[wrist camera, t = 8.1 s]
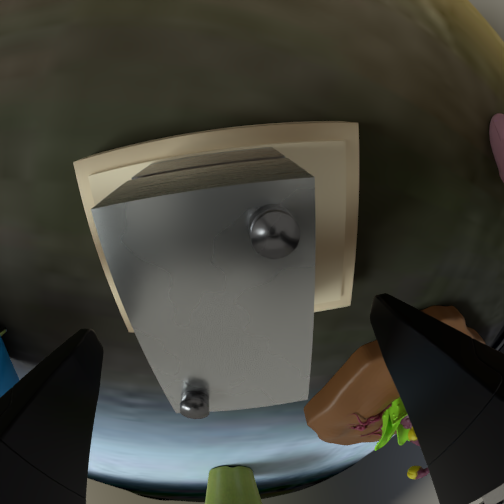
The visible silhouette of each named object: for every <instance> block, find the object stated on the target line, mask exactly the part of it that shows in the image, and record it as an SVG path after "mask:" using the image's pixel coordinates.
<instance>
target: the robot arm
mask: <svg viewBox="0 0 504 504" xmlns="http://www.w3.org/2000/svg"><path fill="white" fill-rule="evenodd" d="M370 321H371V325H372V327H373V330H374V333H375V336H376V339H377V342H378V345H379V348H380V350H381V353H382V356H383V359H384V362H385V364H386V366H387V369H388V371H389V373H390V375H391V377H392V380H393V382H394V384H395V386H396V389H397V391H398V393H399V395H400V398H401V400H402V402H403V405H404V407H405V409H406V412H407V414H408V417H409V419H410V422H411V424H412V426H413V429H414V431H415V434H416V437H417V439H418V442H419V444H420V447H421V450H422V452H423V455H424V458H425V460H426V463H427V465H428V469H429V472H430V475H431V478H432V481H433V484H434V487H435V490H436V493H437V496H438V499H439V503H440V504H469V503H471V502H473V501H475V500H477V499H479V498H480V497H482V499H483V502H481V503H480V504H504V353H502V352H499V351H497V350H495V349H493V348H491V347H489V346H487V345H485V344H483V343H481V342H479V341H478V340H476V339H474V338H473V339H472V337H470V336H468V335H466V334H464V333H463V332H461V331H459V330H457V329H455V328H453V327H451V326H449V325H447V324H445V323H444V322H442V321H440V320H438V319H436V318H434V317H432V316H430V315H428V314H426V313H424V312H422V311H420V310H418V309H416V308H414V307H413V306H411V305H409V304H407V303H405V302H403V301H401V300H399V299H397V298H395V297H393V296H391V295H389V294H386V293H384V294H379V295H376V296H375V297H374V298H373V303H372V308H371V314H370ZM102 360H103V347H102V345H101V343H100V341H99V339H98V338H97V336H96V334H95V332H94V331H93V330H92V329H80V330H79V331H78V332H77V333H75V334H74V335H73V336H72V337H70V338H69V339H68V340H67V341H66V342H64V343H63V344H62V345H61V346H60V347H58V348H57V349H56V350H55V351H53V352H52V353H51V354H50V355H49V356H48V357H46V358H45V359H44V360H43V361H42V362H40V363H39V364H38V365H37V366H36V367H35V368H33V369H32V370H31V371H30V372H29V373H28V374H26V375H25V376H24V377H23V378H22V379H21V380H20V381H18V382H17V383H16V384H15V385H14V386H13V388H10V389H9V390H8V391H7V392H6V393H5V394H4V395H3V396H1V397H0V504H86V487H87V474H88V463H89V454H90V445H91V438H92V431H93V424H94V418H95V412H96V406H97V401H98V395H99V388H100V378H101V369H102Z"/></svg>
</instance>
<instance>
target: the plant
mask: <svg viewBox="0 0 504 504" xmlns="http://www.w3.org/2000/svg"><path fill="white" fill-rule="evenodd" d="M420 311H422V312H424V313H426V314H428V315H430V316H432V317H434V318H436V319H438V320H440V321H442V322H444V323H445V324H447V325H449V326H451V327H453V328H455V329H457V330H459V331H461V332H463V333H464V334H466V335H468V336H470V337H472V339H473V338H474V339H476V340H478V341H479V342H481V343H483V344H485V342H484V340H483V339H482V338H481V336H480V335H479V334H478V333H477V332H476V331H475V330H474V329H472V328H469V327H467V326H466V323H465V319H464V317H463V316H462V315H461V313H460V312H459V311H458V310H457V309H456V308H455V307H454V306H447V307H445V306H431V307H429V308H426V309H424V310H420ZM485 345H486V344H485ZM304 413H305V417H306V421H307V425H308V426H309V427H311V428H312V429H313V430H314V431H315V432H316V433H317V435H318V437H319V438H320V439H321V440H323V441H325V442H328V443H335V444H340V445H352V444H356V443H361V442H375V441H379V442H378V443H377V445H376V446H375V451H376V450H378V449H379V448H381V447H383V446H384V445H385V444H386V443H387V442H388V441H389V440H390V438H391V437H392V436H393V435H394V434H397V436H398V443H399V445H403V444H404V443H405V442H406V440H408V441H410V442H412V443H414V444H416V445H417V446H420V444H419V442H418V439H417V437H416V434H415V431H414V429H413V426H412V424H411V422H410V419H409V417H408V414H407V412H406V409H405V407H404V405H403V402H402V400H401V398H400V395H399V393H398V391H397V389H396V386H395V384H394V382H393V380H392V377H391V375H390V373H389V371H388V369H387V366H386V364H385V362H384V359H383V356H382V353H381V350H380V348H379V345H378V342H377V340H375V341H373V342H370V343H368V344H365V345H363V346H361V347H360V348H359V349H358V350H356V351H355V352H354V353H353V354H352V355H351V357H350V358H349V359H348V360H347V362H346V363H345V364H344V365H343V366H342V367H341V368H340V369H339V370H338V372H337V373H336V374H335V375H334V376H333V377H332V378H331V379H330V381H329V382H328V383H327V384H326V385H325V386H324V387H323V388H322V389H321V390H320V391H319V392H318V393H317V394H316V395H315V396H314V397H313V398H312V399H311V400H310V401H309V402H308V403H307V405H306V406H305V407H304ZM428 473H429V469H428V468H426V469H423V468H422V467H420V466H412V467H410V469H408V472H407V476H408V477H409V478H410V479H418V478H422V477H423V476H426V475H427V474H428Z"/></svg>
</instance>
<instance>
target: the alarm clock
mask: <svg viewBox="0 0 504 504" xmlns="http://www.w3.org/2000/svg"><path fill="white" fill-rule="evenodd" d="M6 331H7V329H6V328H3V329H0V397H1V396H3V395H4V394H5V393H6V392H7V391H8V390H9V389H10V388H13V386H14V385H15V384H16V383H17V382H18V381H19V378H18V376H17V373H16V371H15V369H14V367H13V364H12V362H11V360H10V357H9V355H8V352H7V350H6V347H5V345H4V342H3V340H2V337H1V336H2V335H3V334H4V333H5V332H6Z"/></svg>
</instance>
